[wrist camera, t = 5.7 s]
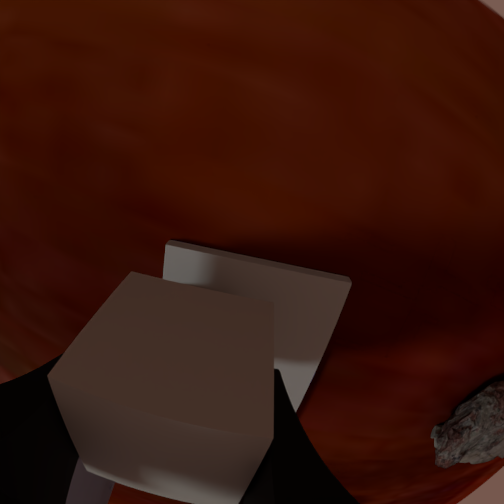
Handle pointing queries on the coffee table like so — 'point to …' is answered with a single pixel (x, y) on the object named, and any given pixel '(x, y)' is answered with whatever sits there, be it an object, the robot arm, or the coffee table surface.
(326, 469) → the robot arm
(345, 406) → the coffee table surface
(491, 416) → the mineral rock
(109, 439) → the beige block
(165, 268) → the grey board
